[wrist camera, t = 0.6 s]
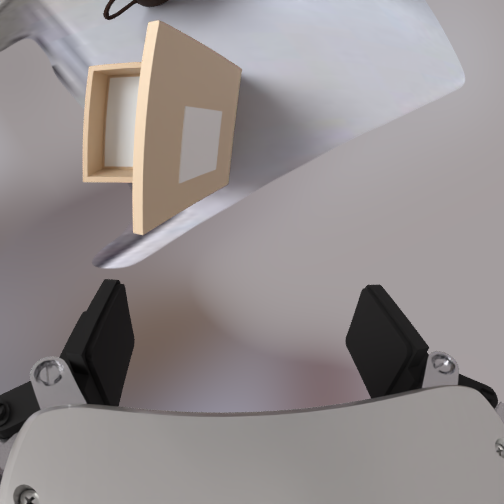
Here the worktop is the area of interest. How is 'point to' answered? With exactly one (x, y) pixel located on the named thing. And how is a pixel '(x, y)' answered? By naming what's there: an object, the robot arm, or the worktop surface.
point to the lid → (180, 125)
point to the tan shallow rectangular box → (110, 122)
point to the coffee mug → (143, 0)
